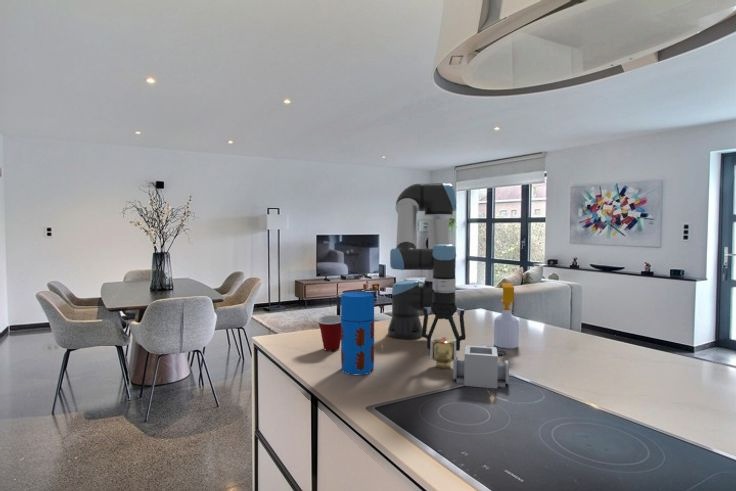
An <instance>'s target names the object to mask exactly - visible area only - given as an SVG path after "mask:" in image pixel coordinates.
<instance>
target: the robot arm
mask: <svg viewBox="0 0 736 491" xmlns="http://www.w3.org/2000/svg"><path fill="white" fill-rule="evenodd" d="M455 211H457V198H456V191H455V188H454V186H453V184H451V183H445V182H444V183H443V182H441V183H439V182H437V183H435V182H434V183H414V184H411V185H409V186H407V187H406V188H404V190H403V191H401V193H400V194H399V196H398V197H397V199H396V202H395V212H396V214H397V225H396V226H397V227H396V245H395V246H396V247H395V248H391V249H390V251H389V252H390V253H389V255H390V256H389V262H390V263H389V264H390V268H391V269H392V270H400V271H405V270H406V271H407V270H408V271H409V270H410V271H411V270H413V271H417V270H419V271H421V270H422V271H427V276H426V277H425V278H424V283H420V280H419V279H408V280H401V281H397V282H395V283H393V284H392V290H391V296H392V299H391V319H390V322H389V325H388V329H387V335H388V336H389V337H391V338H395V339H400V340H401V339H402V340H413V339H419V338H421V337H422V338H425V339H426V347H427V349H428V350H429V351H430V354H429V356H430V357H429V358H430V360H433V340H435V339H434V337H432V336H433V334H434V331H435V329H436V327H437V326H436V325H437V323H438V321H439V320H448V322H449V326H450V327H451V330H452V333H453V336H454V338H455V339H454V340H453V341H454V357H457V352H459V351H461V350H460V349H461V341H465V340H466V329H465V328H466V327H465V320H464V316H465V311H466V310H465V309H464V308H458V307H457V305H456V290H457V287H456V281H457V280H456V269H457V268H456V266H457V265H456V264H457V260H456V257H457V253H456V251H457V250H456V248H457V247H456V245H454V244H450V240H449V239H450V234H449V233H450V229H449V228H450V218H452V217H453V212H455ZM419 212H424V216H425V217H426V219H428V222H427V224H428V230H427V231H428V233H427V234H428V236H427V237H428V238H427V240H428V244H427V246H428V247H427V248H417V245H418V244H417V241H418V239H417V238H418V234H417V232H418V231H417V230H418V229H417V225H418V224H417V222H418V221H417V219H418V217H417V214H418V213H419ZM420 312H423V322H422V321H421V319H420ZM431 312H432V313H433V314H434V315H435V316H434V319H433V322H432V324H431V326H430V329H429V332H428V331H427V330H428V322H429V321H428V320H429V315H430V313H431ZM456 313H457V316H459V327H460V333H459V331H458V329H457V326H456V323H455V319H454V317H453V316H454V314H456ZM427 332H428V333H427ZM433 361H434V360H433Z"/></svg>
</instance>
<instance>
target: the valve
mask: <svg viewBox="0 0 736 491" xmlns="http://www.w3.org/2000/svg"><path fill="white" fill-rule="evenodd" d="M433 361H435V367H436V368H437V369H440V370H446V369H447V370H448V369H451V366H452V364H451V363H453V362H454V340H453V339H448V338H446V337H442V338H436V339H433Z"/></svg>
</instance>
